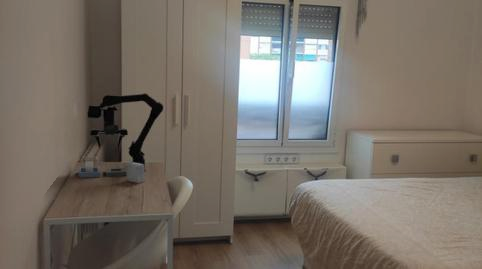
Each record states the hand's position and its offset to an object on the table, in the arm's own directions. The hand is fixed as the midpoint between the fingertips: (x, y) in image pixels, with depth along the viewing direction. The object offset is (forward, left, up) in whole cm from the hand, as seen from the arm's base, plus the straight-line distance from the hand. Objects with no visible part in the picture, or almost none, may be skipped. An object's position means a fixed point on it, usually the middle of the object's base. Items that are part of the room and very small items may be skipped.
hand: (108, 148), depth 232 cm
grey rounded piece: (+10, +8, -12) cm, 17 cm away
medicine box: (-11, +25, -12) cm, 30 cm away
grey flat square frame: (-3, +8, -12) cm, 15 cm away
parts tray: (+10, +8, -12) cm, 18 cm away
